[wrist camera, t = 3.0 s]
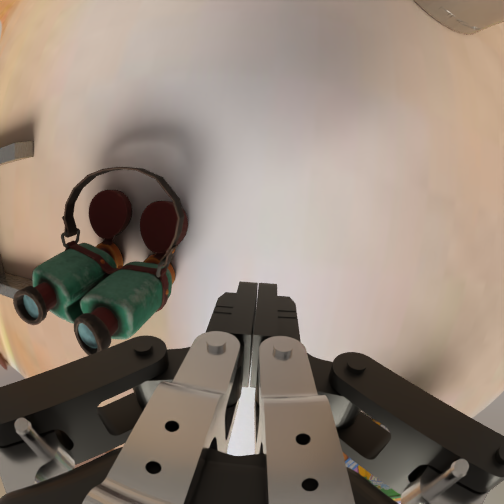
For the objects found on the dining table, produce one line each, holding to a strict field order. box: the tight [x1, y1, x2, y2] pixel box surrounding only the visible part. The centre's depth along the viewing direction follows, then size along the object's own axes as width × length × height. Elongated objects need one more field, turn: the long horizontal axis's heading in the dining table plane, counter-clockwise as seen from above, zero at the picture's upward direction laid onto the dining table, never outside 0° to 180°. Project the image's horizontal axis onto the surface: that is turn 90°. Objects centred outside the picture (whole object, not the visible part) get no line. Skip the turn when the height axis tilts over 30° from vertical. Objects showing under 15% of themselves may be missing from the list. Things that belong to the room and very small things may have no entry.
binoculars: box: [13, 167, 188, 355], centre depth 14 cm, size 9×11×10 cm
